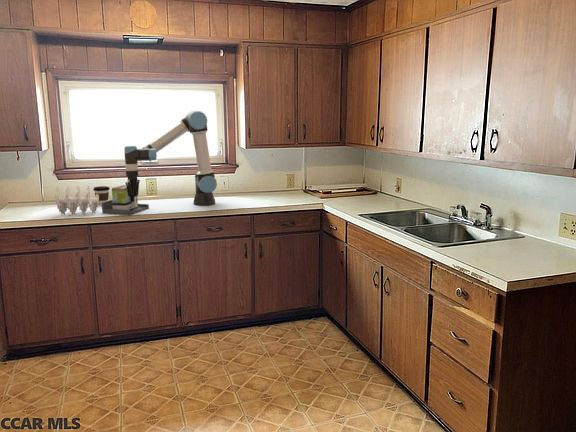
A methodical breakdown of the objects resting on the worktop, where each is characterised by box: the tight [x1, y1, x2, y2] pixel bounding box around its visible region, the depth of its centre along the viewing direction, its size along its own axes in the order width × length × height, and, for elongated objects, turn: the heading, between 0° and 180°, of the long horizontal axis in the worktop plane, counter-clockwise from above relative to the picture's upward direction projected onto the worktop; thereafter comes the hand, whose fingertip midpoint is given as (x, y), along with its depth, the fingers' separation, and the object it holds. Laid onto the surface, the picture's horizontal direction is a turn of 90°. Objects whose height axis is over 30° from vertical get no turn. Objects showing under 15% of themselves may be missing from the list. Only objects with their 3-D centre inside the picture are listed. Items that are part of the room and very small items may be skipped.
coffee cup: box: [92, 185, 110, 206], centre depth 332 cm, size 11×11×12 cm
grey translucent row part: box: [54, 185, 99, 216], centre depth 301 cm, size 18×18×25 cm
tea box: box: [111, 184, 139, 210], centre depth 310 cm, size 15×10×15 cm, turn 169°
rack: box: [101, 199, 150, 216], centre depth 311 cm, size 20×22×7 cm
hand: (134, 206), depth 309 cm, fingers closed
